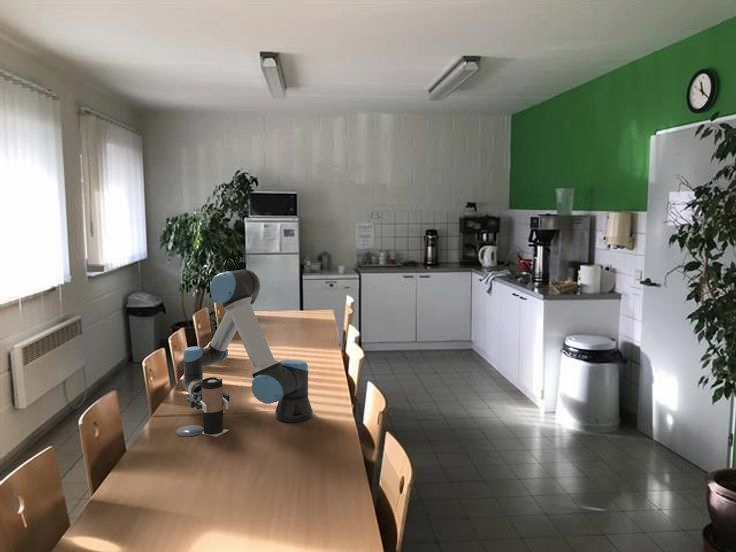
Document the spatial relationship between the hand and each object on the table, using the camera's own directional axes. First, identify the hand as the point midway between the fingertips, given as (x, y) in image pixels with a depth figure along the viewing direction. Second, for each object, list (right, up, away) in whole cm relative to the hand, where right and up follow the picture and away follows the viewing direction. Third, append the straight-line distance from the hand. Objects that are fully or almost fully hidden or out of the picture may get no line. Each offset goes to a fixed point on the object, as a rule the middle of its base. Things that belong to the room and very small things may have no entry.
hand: (216, 407), depth 219 cm
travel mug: (-3, -11, +5) cm, 12 cm away
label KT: (-3, -10, +5) cm, 12 cm away
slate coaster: (-11, -10, +5) cm, 16 cm away
